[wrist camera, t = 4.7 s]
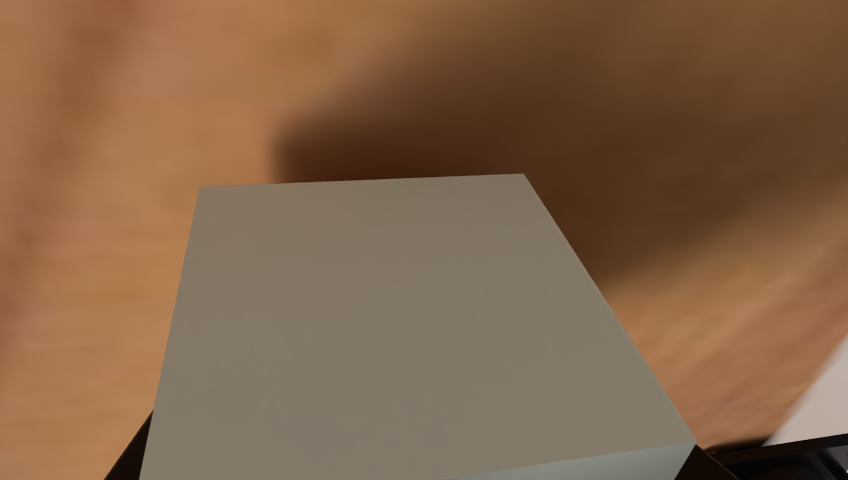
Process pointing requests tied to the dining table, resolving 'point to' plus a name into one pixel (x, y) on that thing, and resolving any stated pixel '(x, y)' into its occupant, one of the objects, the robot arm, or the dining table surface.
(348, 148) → the dining table surface
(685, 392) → the dining table surface
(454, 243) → the sage cube
